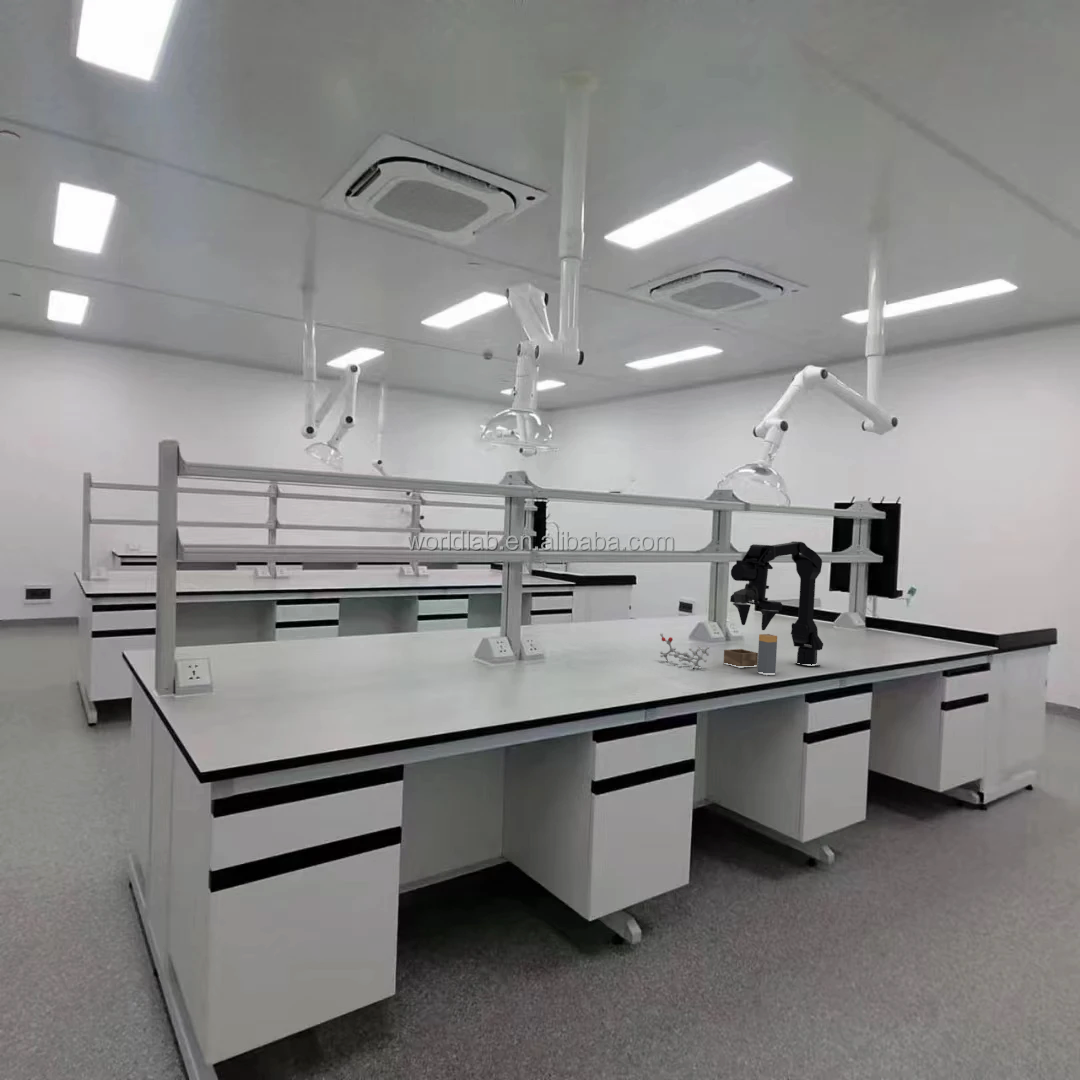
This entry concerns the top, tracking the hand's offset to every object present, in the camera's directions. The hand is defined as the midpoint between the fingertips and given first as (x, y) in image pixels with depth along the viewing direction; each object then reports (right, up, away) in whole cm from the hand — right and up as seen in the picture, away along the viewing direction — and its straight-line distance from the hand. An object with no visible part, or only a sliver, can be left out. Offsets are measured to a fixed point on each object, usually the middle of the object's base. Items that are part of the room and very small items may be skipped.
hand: (753, 627), depth 231 cm
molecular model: (-23, -14, +3) cm, 27 cm away
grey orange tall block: (+2, -15, -6) cm, 16 cm away
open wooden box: (-2, -14, +7) cm, 16 cm away
